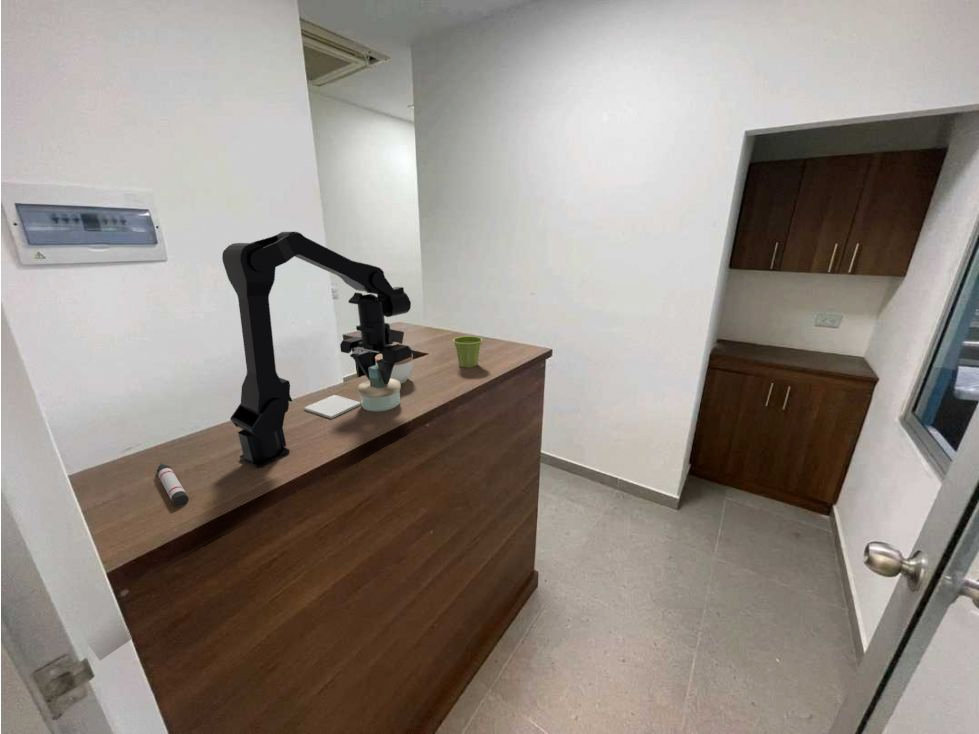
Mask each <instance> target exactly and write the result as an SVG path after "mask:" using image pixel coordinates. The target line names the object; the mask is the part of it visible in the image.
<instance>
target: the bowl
mask: <svg viewBox="0 0 979 734" xmlns="http://www.w3.org/2000/svg"><path fill="white" fill-rule="evenodd" d="M359 396H360V402H361V408H362V409H363V410H365V411H367V412H372V413H375V412H376V413H378V412H380V413H381V412H386V411H389V410H393V409H395V408H396V407H398V406H399V405H400V403H401V392H400V390H399V391H398V392H396V393H394V394H392V395H389V396H385V397H377V398H370V397H364V396H361V395H360V394H359Z"/></svg>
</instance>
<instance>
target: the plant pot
mask: <svg viewBox="0 0 979 734" xmlns="http://www.w3.org/2000/svg"><path fill="white" fill-rule="evenodd" d="M452 342H453V343H454V347H455V349H456V350H455V351H456V355H457V359H458V365H459V367H465V369H466V368H475V366H478V364H479V355H480V350H481V349H480V347H481V344H482V342H483V339H482V337H479V336H473V335H472V336H471V335H465V336H459V337H455V338H453V339H452Z"/></svg>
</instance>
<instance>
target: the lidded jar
mask: <svg viewBox="0 0 979 734" xmlns="http://www.w3.org/2000/svg"><path fill="white" fill-rule="evenodd" d="M380 359H383V358H382V354H379V353H377V354H376V355H375V356H374V361H375V365H376V364H377V360H380ZM413 367H414V355H413V353H412V357H410V358H408V359H405V360H403V361H400V362H398V363H395V364H394V367H393V370H392V373H391V377H390V378H391V379H396V380H398V381H399V382H400V385H401V384H403V383H405V382H407V380H408V379H409V378H410V377H411V375H412V372H413Z"/></svg>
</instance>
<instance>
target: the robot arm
mask: <svg viewBox="0 0 979 734" xmlns="http://www.w3.org/2000/svg"><path fill="white" fill-rule="evenodd" d="M221 257H222V263H223V267H224V271H225V273H226V276H227V279H228V282H229V283H230V285H231V286H232V288H233V289H234V291H235V293H236V296H237V299H238V308H239V309H238V310H239V315H240V316H239V317H240V325H241V332H242V340H243V349H244V357H245V365H246V375H245V377H244V380H243V382H242V385H241V394H240V404H239V405H238V407H237V408H236V409H235V411H234V413H232V415H231V417H230V421H231V423H232V424H233V425H234V426H235V427H236V428H240V429H241V430H240V431H237V435H238V440H239V443H240V447H241V449H242V450H241V451H242V455H240V456H239V459H240V460H241V461H243V462H246V463H248V464H249V465H251V466H254V467H255V468H262V467H263V466H265V465H267V464H269V463H271V462H273V461H276V460H277V459H279V458H281V457H283V456H286V454H288V453H290V452H291V450H290V449H289V448H287V442H286V438H285V437H286V435H285V433H284V428H283V426H284V421H285V415H286V413H288V411H289V408H290V402H292V401H293V399H292V397H291V394H290V393H291V392H290V391H291V384H290V380H287V379H285V378H281V377H279V375H278V373H277V367H276V366H277V365H276V358H275V357H276V356H275V348H274V347H275V346H274V339H273V337H274V336H273V328H272V319H271V310H270V309H271V308H270V301H269V300H270V299H269V298H270V294H271V291H272V289H273V286H274V284H275V280H276V279H275V277H276V269H277V267H280V266H281V265H284V264H285V263H287V262H289V261H290V260H291V259H293V258H294V257H295V258H297V259H299V260H302V261H304V262H306V263H308V264H311V265H313V266H315V267H318V268H320V269H322V270H324V271H327V272H329V273H331V274H334V275H336V276H338V277H339V278H340V279H341V280H342V281H343V282H344V283H345V284H347V285H348V287H349V286H350V287H351V288H353V290H355V291H359V292H354V294H353V295H352V297H350V298H349V300H348V303H349V304H351V305H353V304H354V305H357V311H358V313H357V314H358V320H359V325H356V326H355V327H356V328H355V329H356V331H360V335H361V336H353V337H349V338H347V339H343V340H341V342H340V344H339V348H340V352H341V353H345V354H349V356H350V358H352V359H353V360H354V362H355V363H356V364H357V366H359V368H360V369H361V371H362V372H363V374H364V375H365V377H366V378H367V380H370V378H369V369H368V367H371V366H374V364H373V357H374V355H375V354H382V358H383V359H380V360H377V364H378V367H379V370H380V373H381V376H382V379H383V381H384V384H388V383H389V380H390V377H391V373H392V370H393V367H394V364H395V363H398V362H400V361H403V360H405V359H408V358H410V357H412V354H413V352H412V348H411V347H410V346H409V345H405V344H403V342H404V336H405V331H401V330H395V329H391V325H390V323H388V322H386V321H385V317H386V318H391V317H395V316H399V315H404V314H407V313H408V312H410V310H411V307H412V304H411V303H412V302H411V300H410V298H409V296H408V293H406V292H405V289H404V287H403V286H394V287H392V285H391V284H390V282H389V280H387V278H386V276H385V272H384V270H383V269H382V268H380V267H378V266H375V265H371V264H368V263H364V262H359V261H355V260H352V259H349V258H347V257H345V256H343V255H341V254H339V253H337V252H336V251H333V250H331V249H329V248H327V247H325V246H324V245H321V244H320V243H318V242H316V241H314V240H312V239H309V238H308V237H306V236H305V235H303V234H302V233H301V232H298V231H280V233H278V234H276V235H273V236H270V237H269V236H268V237H266V238H262V239H259V240H255V241H253V242H235V243H234V242H233V243H231V244H229V245H228V246H227V247H226V248H225V249H224V250H223V251H222V256H221ZM362 292H365V293H367V294H363V293H362ZM394 343H397V344H394ZM351 352H352V353H351Z"/></svg>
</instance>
